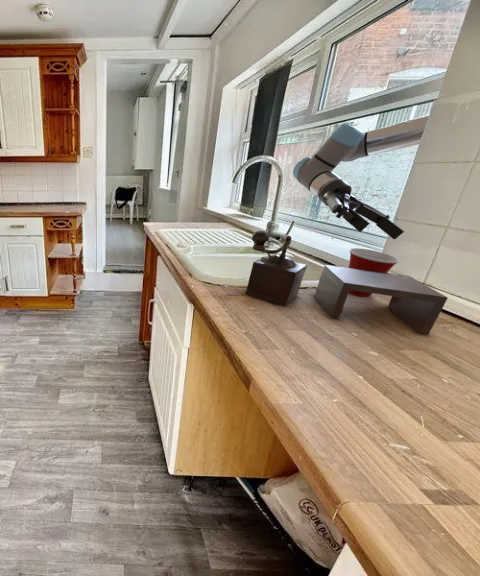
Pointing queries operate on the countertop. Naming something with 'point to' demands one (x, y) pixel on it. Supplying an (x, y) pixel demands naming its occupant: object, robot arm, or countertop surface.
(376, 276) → the shelf
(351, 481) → the countertop surface
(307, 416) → the countertop surface
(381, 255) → the plastic cup
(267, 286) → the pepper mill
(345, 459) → the countertop surface
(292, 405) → the countertop surface
